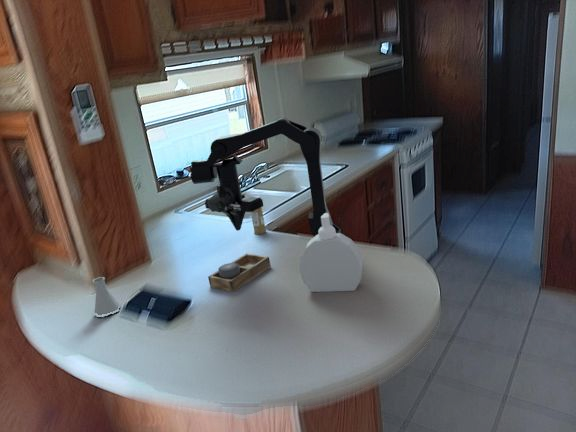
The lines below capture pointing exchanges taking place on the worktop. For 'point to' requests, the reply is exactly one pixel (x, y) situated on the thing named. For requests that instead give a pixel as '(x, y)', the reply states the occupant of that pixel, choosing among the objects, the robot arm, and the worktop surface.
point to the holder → (241, 272)
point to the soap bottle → (331, 261)
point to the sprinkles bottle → (258, 221)
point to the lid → (229, 270)
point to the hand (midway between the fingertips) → (238, 230)
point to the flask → (104, 298)
